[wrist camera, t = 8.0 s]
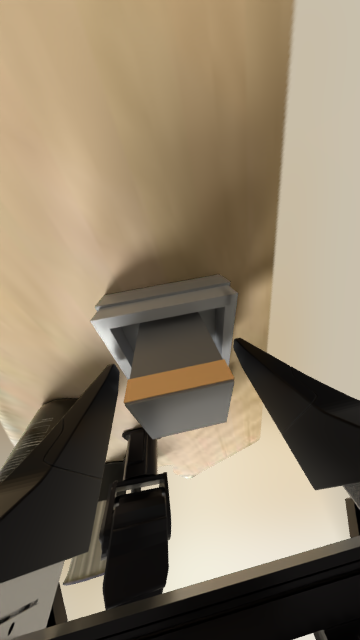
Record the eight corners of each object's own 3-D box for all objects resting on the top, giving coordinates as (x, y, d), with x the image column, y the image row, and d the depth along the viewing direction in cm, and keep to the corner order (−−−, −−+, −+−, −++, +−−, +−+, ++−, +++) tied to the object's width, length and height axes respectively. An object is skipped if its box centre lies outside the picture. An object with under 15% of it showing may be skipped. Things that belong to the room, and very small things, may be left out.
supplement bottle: (45, 420, 20) (-65, 611, 10) (35, 396, 16) (-147, 648, 6) (97, 419, 22) (49, 575, 12) (98, 397, 18) (32, 590, 8)
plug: (200, 349, 13) (227, 422, 8) (153, 359, 13) (152, 439, 8) (197, 309, 10) (235, 380, 5) (139, 320, 10) (123, 405, 5)
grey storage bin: (215, 365, 18) (229, 394, 15) (146, 380, 18) (144, 413, 14) (219, 274, 11) (246, 292, 8) (104, 295, 11) (81, 324, 7)
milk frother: (93, 472, 39) (64, 583, 26) (93, 455, 31) (52, 601, 19) (143, 465, 43) (138, 558, 31) (154, 449, 35) (153, 564, 23)
